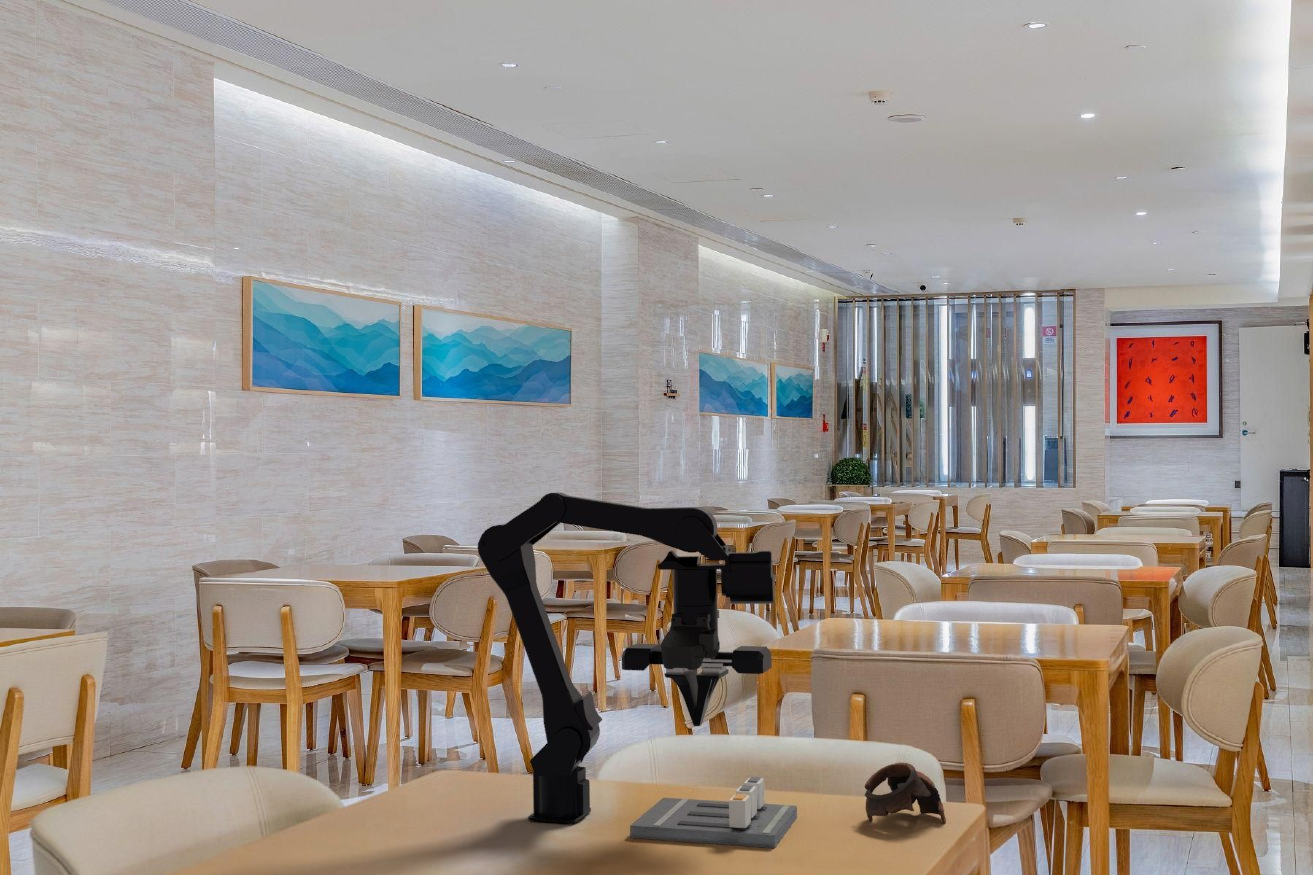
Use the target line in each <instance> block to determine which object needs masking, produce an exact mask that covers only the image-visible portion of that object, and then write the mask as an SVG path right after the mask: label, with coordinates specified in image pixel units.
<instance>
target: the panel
mask: <svg viewBox="0 0 1313 875" xmlns="http://www.w3.org/2000/svg"><path fill="white" fill-rule="evenodd" d="M797 818H798V805H790V804H776V803H775V804H774V803H765V804H764V805H763V806H762V807H761V808H760V809H757V813H756V814H755V815H754V817H753V818H751V823H750V824H749V825H748V826H747V827H746V828H736V827H729V800H728V801H725V800H710V799H709V800H708V799H693V798H678V797H677V798H675V797H662V798H661V799H660V800H659V801H657V802H656V803H655V804H654V805H652V806H651V807H650V808H649V809H648V810H646V811H645V812H644V813H643V814H642V815H641V816H640V817H638V818H637V819H636V820H634V821H633V823H631V824H630V826H629V833H630V834H629V837H630V839H643V840H656V841H668V842H669V841H670V842H684V843H685V842H686V843H697V844H712V845H727V846H737V847H738V846H741V847H752V848H753V847H754V848H757V847H758V848H767V849H769V848H771V849H775V848H777V846H778V844H779V843H780V842H781V841H782V839H783V838H784V836H785V835H786V834H787V832H788V831H789V829H790V828H791V827H792V825H793V824H794V823H795V822H796V820H797Z"/></svg>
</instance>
